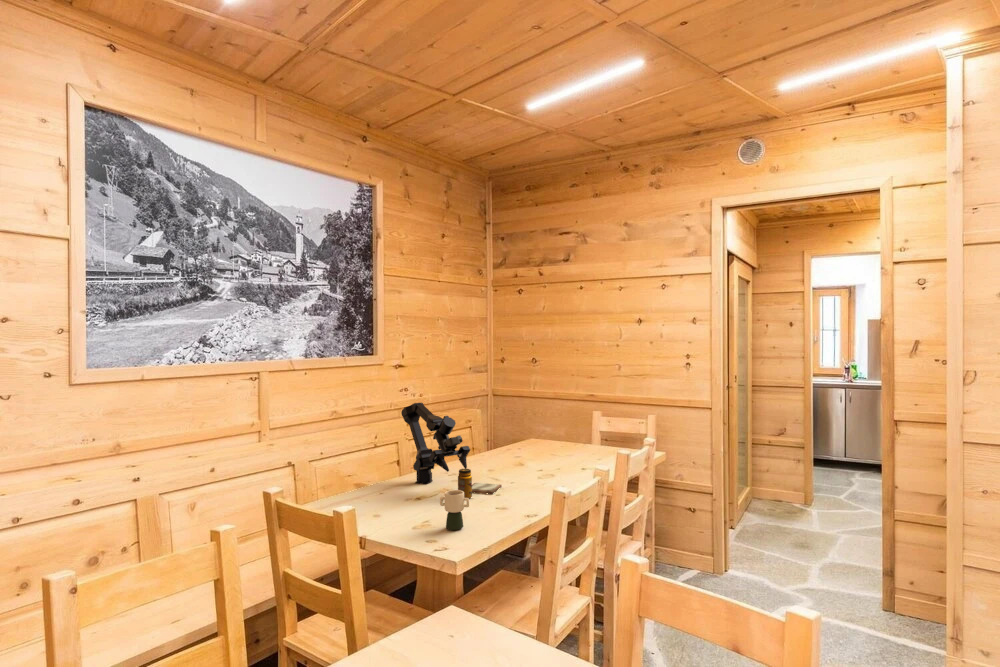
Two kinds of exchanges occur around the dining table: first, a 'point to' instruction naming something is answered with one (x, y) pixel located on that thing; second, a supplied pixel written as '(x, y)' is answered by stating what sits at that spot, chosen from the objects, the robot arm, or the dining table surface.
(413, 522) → the dining table surface
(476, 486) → the plinth
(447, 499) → the character mug
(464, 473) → the condiment
